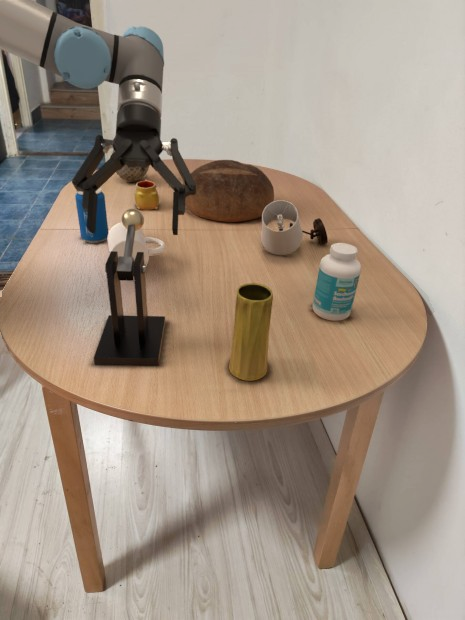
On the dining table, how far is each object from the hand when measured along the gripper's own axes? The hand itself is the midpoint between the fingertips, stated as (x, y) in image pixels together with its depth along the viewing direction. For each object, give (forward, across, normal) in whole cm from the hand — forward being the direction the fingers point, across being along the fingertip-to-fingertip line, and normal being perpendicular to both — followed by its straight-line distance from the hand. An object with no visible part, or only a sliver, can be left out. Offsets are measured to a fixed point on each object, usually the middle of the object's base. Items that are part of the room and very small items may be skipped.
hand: (133, 231), depth 74 cm
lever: (+3, 0, 0) cm, 3 cm away
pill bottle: (+10, +36, +14) cm, 40 cm away
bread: (-29, +18, +53) cm, 63 cm away
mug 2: (-30, -5, +54) cm, 62 cm away
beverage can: (-12, -15, +36) cm, 40 cm away
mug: (-3, -3, +27) cm, 27 cm away
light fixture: (-9, +33, +33) cm, 48 cm away
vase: (+22, +19, +2) cm, 29 cm away
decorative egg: (-44, -13, +68) cm, 82 cm away
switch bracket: (+17, 0, +6) cm, 18 cm away
